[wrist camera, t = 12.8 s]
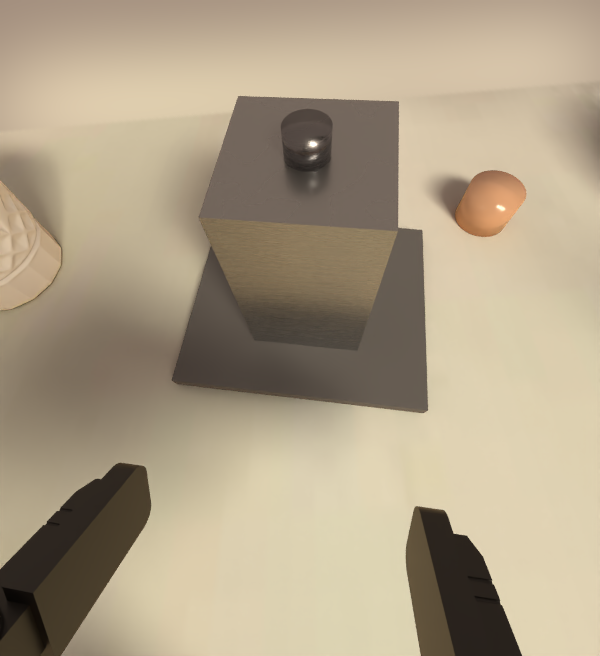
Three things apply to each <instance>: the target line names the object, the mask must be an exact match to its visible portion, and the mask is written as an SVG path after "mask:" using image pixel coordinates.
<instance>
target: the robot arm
mask: <svg viewBox="0 0 600 656" xmlns="http://www.w3.org/2000/svg"><path fill="white" fill-rule="evenodd" d="M150 510H151V499H150V492H149V485H148V478H147V471H146V468H145V467H144V466H139V465H132V464H125V463H118V464H116V465H115V466H113V467H112V468H111V470H110V471H109V472H108V473H107V474H106V475H105V476H104V477H103V478H102V479H95V480H93V481H92V482H90V483H89V484H87V485H86V486H84V487H83V488H81V489H79V490H78V491H76V492H75V493H74V494H73V495H72V496H71V497H70V499H69V500H68V501H67V502H66V503H65V504H64V505H63V506H62V507H61V508H60V511H57V512H56V513H55V514H54V515H53V516H52V517H51V518H50V519H49V520H48V521H47V524H46V525H43V526H42V527H41V528H40V529H39V530H38V531H37V532H36V533H35V534H34V535H33V536H32V537H31V538H30V539H29V540H28V541H27V543H26V544H25V545H24V546H23V547H22V548H21V549H20V550H19V551H18V552H17V553H16V554H15V555H14V556H13V557H12V558H11V559H10V560H9V561H8V562H7V563H6V564H5V565H4V566H3V567H2V568H1V569H0V656H61V654H62V653H63V651H64V650H65V648H66V647H67V645H68V644H69V642H70V640H71V639H72V637H73V636H74V634H75V633H76V631H77V630H78V628H79V627H80V625H81V623H82V622H83V620H84V619H85V617H86V616H87V614H88V613H89V611H90V610H91V608H92V607H93V605H94V603H95V602H96V600H97V599H98V597H99V596H100V594H101V593H102V591H103V590H104V588H105V587H106V585H107V583H108V582H109V580H110V579H111V577H112V576H113V574H114V573H115V571H116V570H117V568H118V567H119V565H120V563H121V562H122V560H123V559H124V557H125V556H126V554H127V553H128V551H129V550H130V548H131V547H132V545H133V543H134V542H135V540H136V539H137V537H138V536H139V534H140V533H141V531H142V530H143V528H144V526H145V525H146V523H147V520H148V518H149V515H150ZM406 568H407V575H408V581H409V587H410V593H411V599H412V605H413V611H414V617H415V623H416V629H417V635H418V641H419V647H420V653H421V656H522V654H521V652H520V649H519V647H518V644H517V642H516V639H515V637H514V634H513V632H512V629H511V627H510V624H509V621H508V619H507V616H506V614H505V611H504V609H503V606H502V605H501V604H500V599H499V596H498V594H497V591H496V589H495V586H494V585H493V584H492V579H491V576H490V574H489V571H488V569H487V566H486V563H485V561H484V558H483V556H482V555H481V554H480V552H479V551H478V550H477V548H476V547H475V546H474V545H473V543H472V542H471V541H470V539H469V538H468V537H467V536H465V535H458V534H453V531H452V528H451V525H450V522H449V519H448V516H447V514H446V512H445V511H444V510H439V509H432V508H425V507H418V506H416V507H415V508H414V512H413V516H412V521H411V526H410V530H409V535H408V540H407V545H406Z"/></svg>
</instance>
